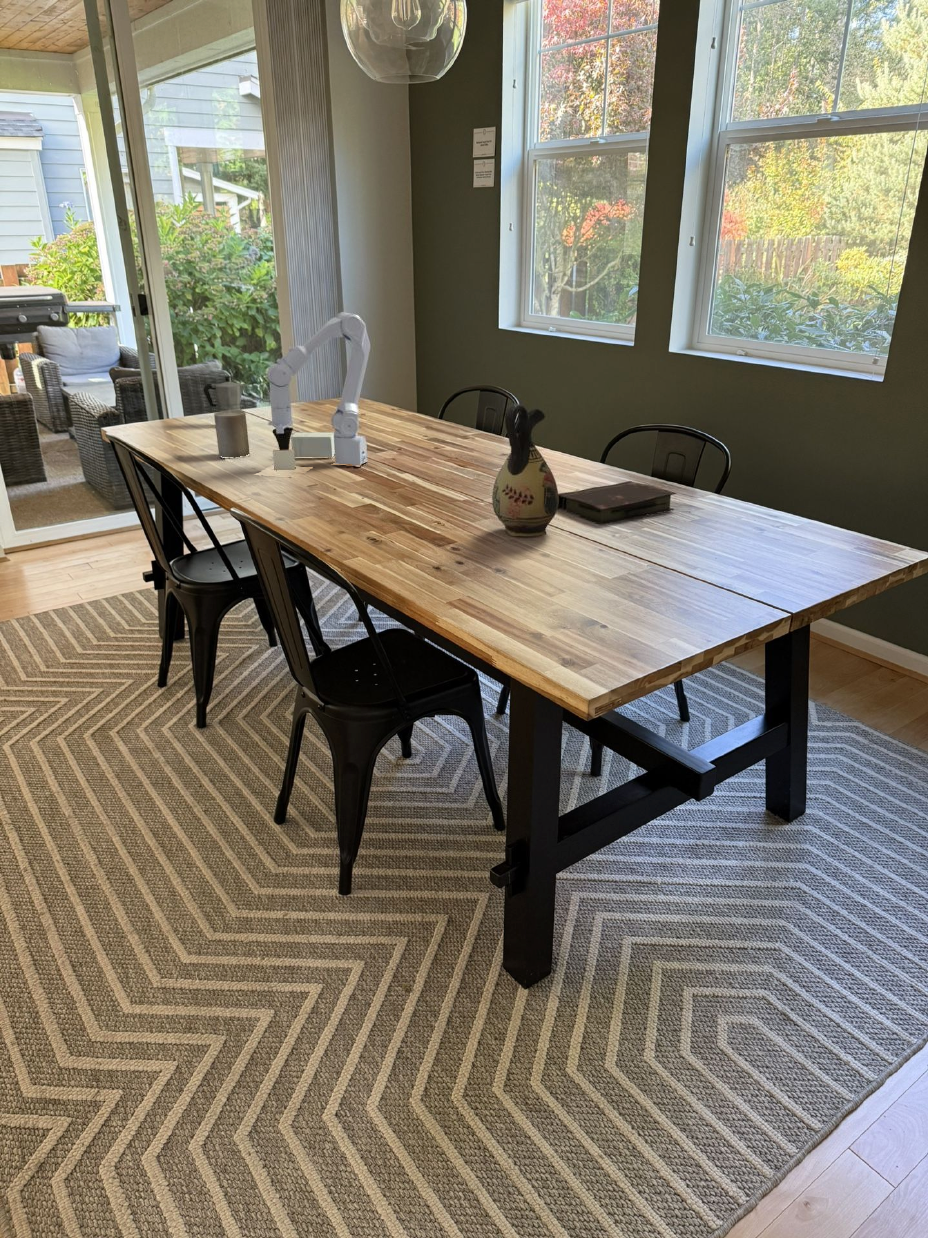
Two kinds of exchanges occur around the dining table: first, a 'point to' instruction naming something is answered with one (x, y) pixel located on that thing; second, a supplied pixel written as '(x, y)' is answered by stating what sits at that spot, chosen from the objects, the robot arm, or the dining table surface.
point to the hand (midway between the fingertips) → (284, 453)
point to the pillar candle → (232, 433)
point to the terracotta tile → (284, 460)
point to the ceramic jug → (524, 479)
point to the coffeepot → (226, 394)
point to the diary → (616, 502)
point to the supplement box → (313, 444)
